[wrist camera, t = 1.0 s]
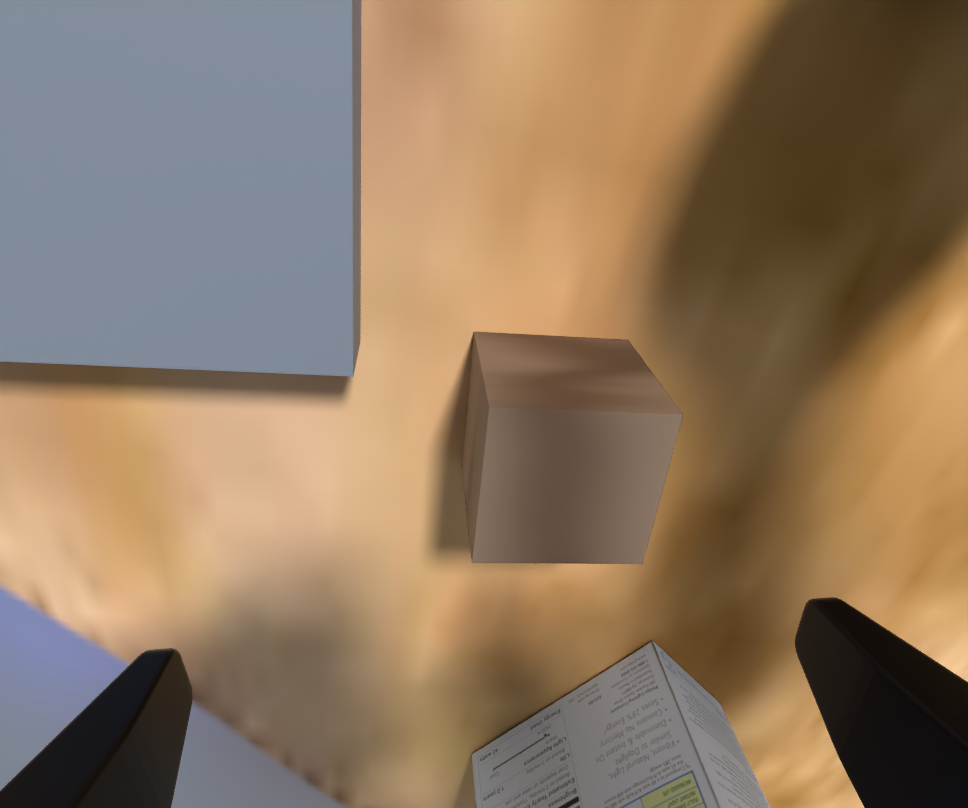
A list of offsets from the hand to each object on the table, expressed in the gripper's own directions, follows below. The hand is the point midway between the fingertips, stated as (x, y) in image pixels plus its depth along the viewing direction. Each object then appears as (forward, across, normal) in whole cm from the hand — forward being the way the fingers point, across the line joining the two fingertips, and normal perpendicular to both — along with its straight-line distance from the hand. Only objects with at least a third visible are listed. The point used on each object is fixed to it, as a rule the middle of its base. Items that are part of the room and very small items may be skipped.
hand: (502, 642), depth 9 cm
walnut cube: (+12, -3, +3) cm, 13 cm away
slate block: (+13, +8, -6) cm, 17 cm away
